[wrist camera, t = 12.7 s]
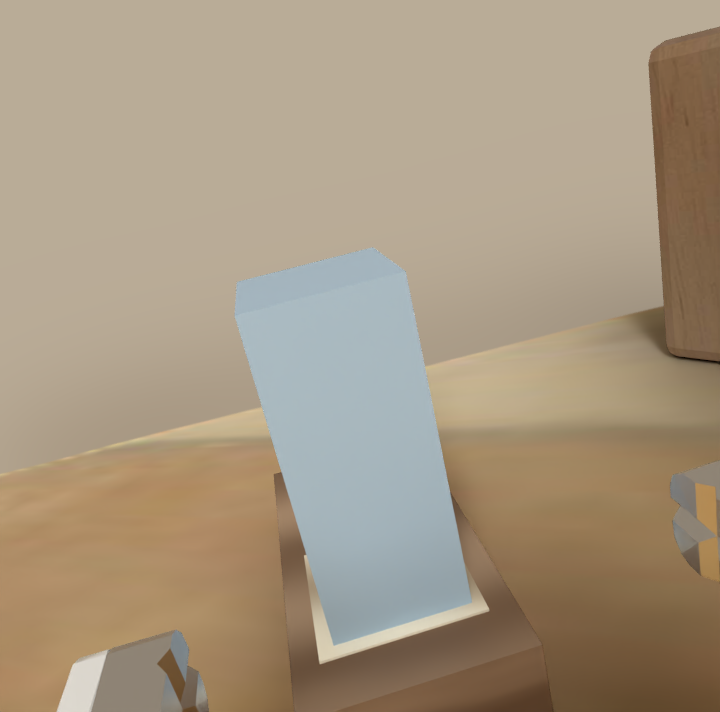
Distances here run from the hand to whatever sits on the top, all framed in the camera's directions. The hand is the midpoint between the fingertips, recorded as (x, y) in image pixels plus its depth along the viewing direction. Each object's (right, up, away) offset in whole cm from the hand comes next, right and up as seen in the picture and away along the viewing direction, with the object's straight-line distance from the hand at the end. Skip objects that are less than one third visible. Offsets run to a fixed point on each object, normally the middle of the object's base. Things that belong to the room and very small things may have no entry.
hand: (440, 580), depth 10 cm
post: (0, -5, +14) cm, 15 cm away
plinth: (0, -7, +18) cm, 19 cm away
